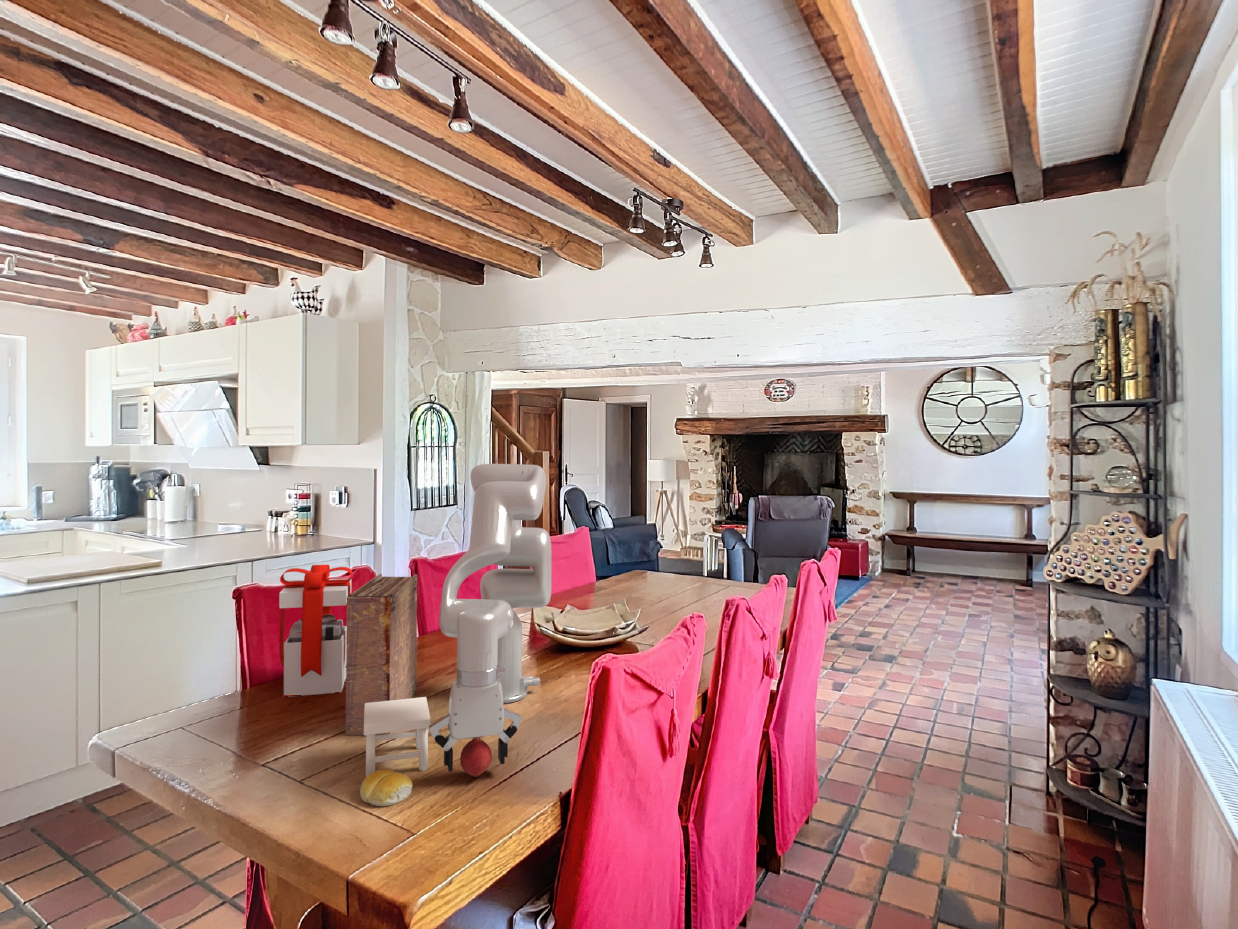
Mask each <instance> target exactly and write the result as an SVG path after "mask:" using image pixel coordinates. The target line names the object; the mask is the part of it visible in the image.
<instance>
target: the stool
mask: <svg viewBox="0 0 1238 929" xmlns="http://www.w3.org/2000/svg"><path fill="white" fill-rule="evenodd" d="M431 724H432V723H431V714H430V710H429V704H428V699H427V696H422V697H421V696H420V697H413V698H410V699H401V700H391V701H381V702H372V703H365V709H364V735H363V736H365V778H366V777H367V776H368V775H370V774H371V773H373V772H375V771H376V764H377V763H383V762H389V761H390V762H392V761H397V760H398V761H399V760H405V759H412V758H418V770H419V771H427V770H428V752H429V751H428V750H429V749H428V748H429V747H428V743H429V740H428V739H429V726H430V725H431ZM389 732H391V733H390V734H385V735H375V734H380V733H389ZM395 732H396V733H395ZM412 737H415V749H416V751H409V752H400V753H393V754H385V755H378V756H376V742H381V741H388V740H397V739H405V738H412Z"/></svg>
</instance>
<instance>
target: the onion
mask: <svg viewBox="0 0 1238 929" xmlns="http://www.w3.org/2000/svg"><path fill="white" fill-rule="evenodd" d="M492 755H493V754H492V749H491V747H490V746H489V745H488V744H487V742H485V741H484V740H482V739H481V737H477V738H471V740H469V741H468V742H467V743H466V744H465V746H463V748H462V750H461V752H460V757H459V758H460V759H459V760H460V763H459V764H460V766H461V768H462V770H463V771H464V772H465V773H466V774H468V775H469V776H472V777H474V778H478V777H479V776H481V775H482V774H483V773H484V772H485V771H486V770H487V769H489V766H490V765H491V763H492V758H493V756H492Z"/></svg>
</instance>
